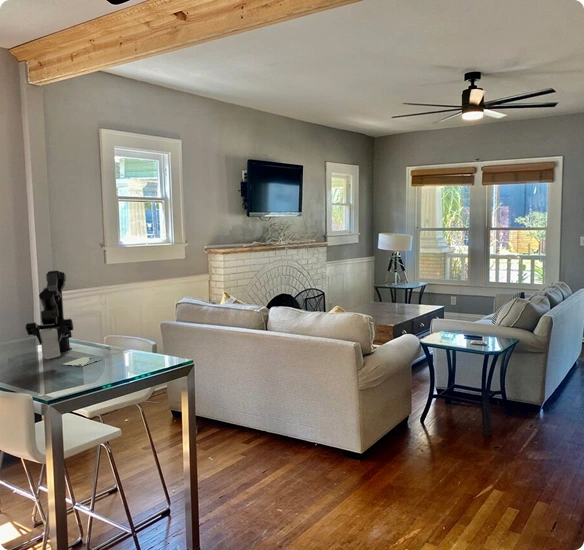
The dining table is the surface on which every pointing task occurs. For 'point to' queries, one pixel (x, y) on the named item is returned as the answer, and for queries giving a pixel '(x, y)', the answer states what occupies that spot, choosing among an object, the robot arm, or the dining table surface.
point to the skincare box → (50, 343)
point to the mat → (78, 361)
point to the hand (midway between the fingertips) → (49, 343)
